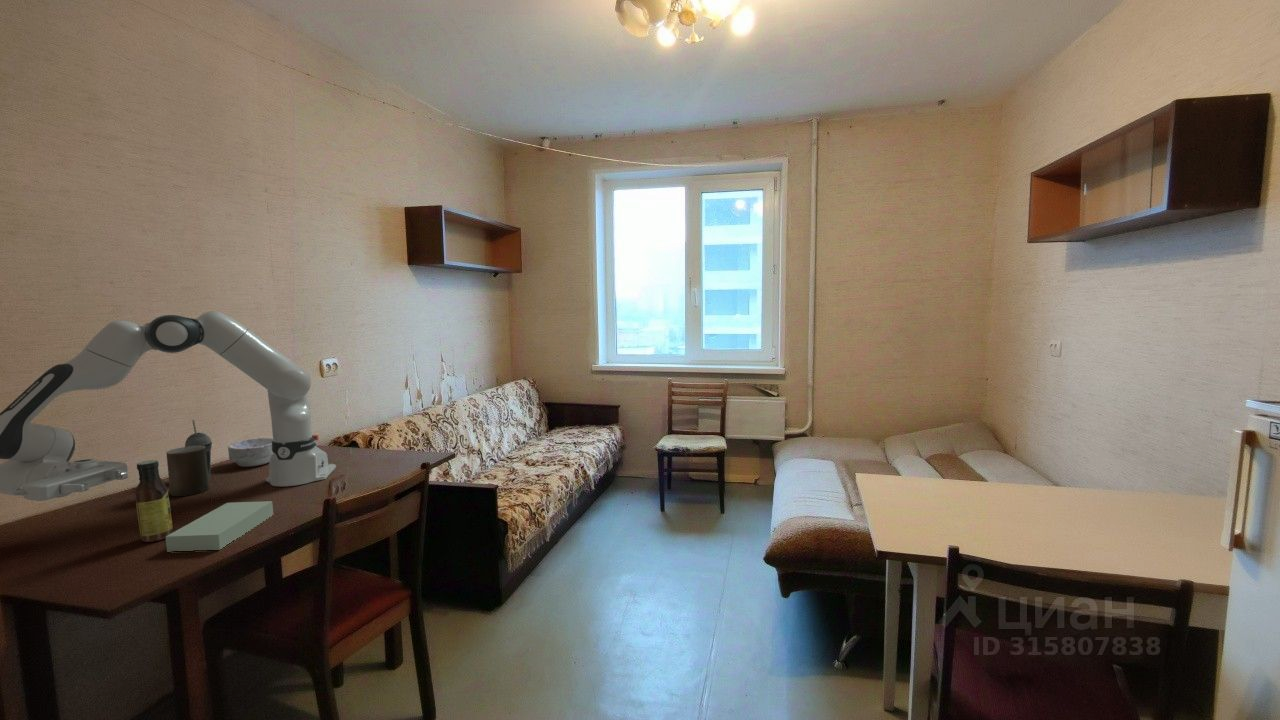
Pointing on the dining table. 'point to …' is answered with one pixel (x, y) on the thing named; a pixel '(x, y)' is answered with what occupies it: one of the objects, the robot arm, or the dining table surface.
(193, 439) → the beverage cup
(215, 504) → the dining table surface
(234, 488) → the dining table surface
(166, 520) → the sauce bottle
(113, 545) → the dining table surface
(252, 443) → the paper bowls
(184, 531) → the pale green rectangular block
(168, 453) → the pillar candle
